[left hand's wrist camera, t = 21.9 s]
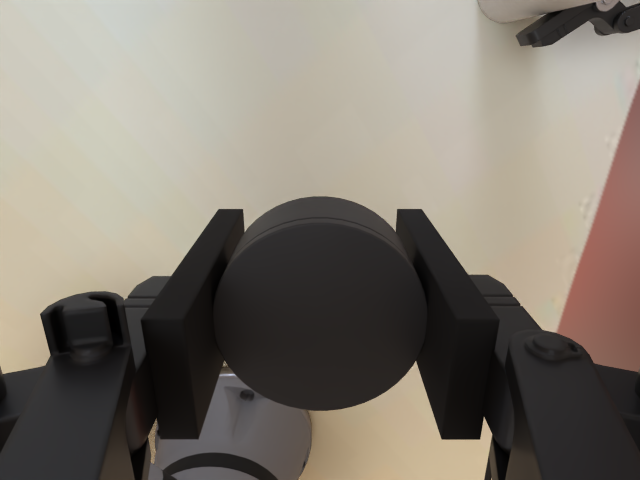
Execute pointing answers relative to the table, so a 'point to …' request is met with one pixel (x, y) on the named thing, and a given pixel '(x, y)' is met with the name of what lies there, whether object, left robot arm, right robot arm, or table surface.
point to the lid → (320, 306)
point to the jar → (525, 8)
